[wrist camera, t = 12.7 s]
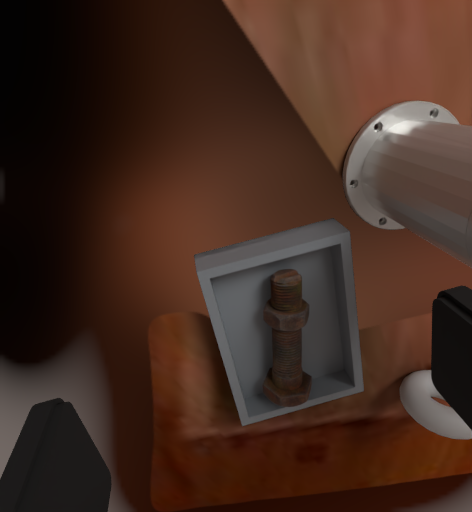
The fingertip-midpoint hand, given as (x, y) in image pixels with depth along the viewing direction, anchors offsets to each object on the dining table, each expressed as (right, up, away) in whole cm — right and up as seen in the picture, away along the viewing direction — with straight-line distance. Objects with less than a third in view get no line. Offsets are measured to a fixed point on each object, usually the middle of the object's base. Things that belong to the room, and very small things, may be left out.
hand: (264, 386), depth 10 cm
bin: (+4, -4, +34) cm, 34 cm away
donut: (+24, -13, +41) cm, 50 cm away
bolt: (+4, -4, +33) cm, 34 cm away
